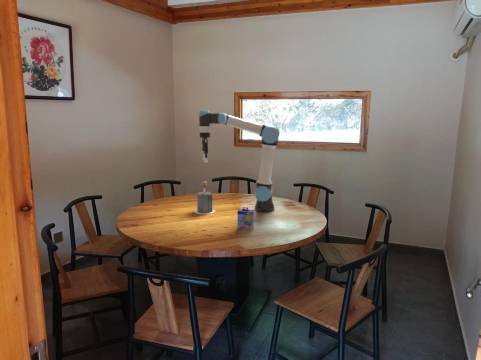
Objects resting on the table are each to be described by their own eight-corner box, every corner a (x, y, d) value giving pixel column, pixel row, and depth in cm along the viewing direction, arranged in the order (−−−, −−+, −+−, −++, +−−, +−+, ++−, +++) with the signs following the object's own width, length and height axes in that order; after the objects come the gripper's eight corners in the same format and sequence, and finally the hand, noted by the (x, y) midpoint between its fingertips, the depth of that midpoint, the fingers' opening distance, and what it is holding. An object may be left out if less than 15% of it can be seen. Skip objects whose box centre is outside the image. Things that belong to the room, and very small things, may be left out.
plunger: (209, 205, 280) (209, 180, 276) (210, 207, 272) (210, 182, 269) (199, 205, 279) (198, 180, 275) (199, 208, 271) (199, 183, 267)
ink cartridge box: (237, 229, 237) (237, 207, 234) (238, 226, 242) (238, 205, 239) (252, 230, 235) (252, 208, 232) (253, 227, 240) (253, 206, 237)
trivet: (214, 209, 285) (214, 208, 285) (216, 214, 270) (216, 213, 270) (193, 210, 283) (193, 209, 283) (194, 215, 267) (194, 214, 267)
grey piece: (211, 208, 285) (211, 190, 283) (212, 213, 271) (212, 194, 269) (196, 208, 283) (196, 190, 281) (197, 213, 270) (197, 194, 267)
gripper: (198, 131, 278) (199, 159, 282) (200, 133, 254) (201, 163, 258) (208, 131, 279) (208, 159, 283) (211, 133, 255) (212, 163, 259)
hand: (205, 161), depth 271 cm, fingers open, 13 cm apart
